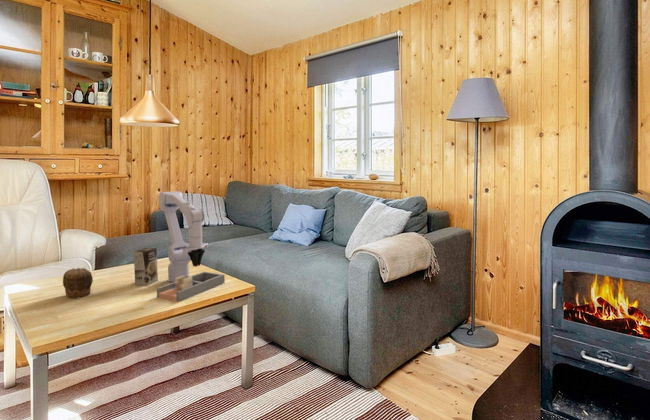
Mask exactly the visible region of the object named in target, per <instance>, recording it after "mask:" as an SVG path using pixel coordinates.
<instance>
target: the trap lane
mask: <svg viewBox="0 0 650 420" xmlns="http://www.w3.org/2000/svg"><path fill="white" fill-rule="evenodd" d="M189 276H190V277H192V282H193V286H191V287H188V288H186V289H183V290H176V284H175V282H171V283H167V284H165V285H162V286H159V287H157V288H156V298H159V299H162V300H163V299H164V300H169V301H174V302H178V303H179V302H182V301H184V300H187V299H189V298H192V297H194V296H196V295H199V294H201V293H204V292H206V291H208V290H211V289H213V288H215V287H218V286H220V285H221V286H222V285H223V284H225V283H226V282H225V281H226V280H225V274H222V273H215V272H210V271H202V272H199V273H195V274H193V275H189Z"/></svg>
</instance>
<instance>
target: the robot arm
mask: <svg viewBox="0 0 650 420" xmlns="http://www.w3.org/2000/svg"><path fill="white" fill-rule="evenodd" d="M158 203H159V207H160V210H161V211H163V212H164V216H165V220H166V223H167V227H168V231H169V235H170V239H171V243H172V244H171V245H170V246H169V247H168V249H167V252H168V253H167V255H168V261H169V262H170V263H169V264H168V267H167V274H168V276H167V277H168V279H167V282H171V283H173V282H175V278H178V277H181V276H190V264H189V263H190V262H191V265H192V266H193V267H199V266H201V262H202V259H203V255H204V254H205V252H206V250H205V249H206V248H209V243H208V242H203V225H202V224H203V221H204V219H205V214H204V211H203V210H202V209H201V208H199V209H197V207H195V206H194V205H193V204H191V202H190V201H186V200H185V199H184V197H183V193H182V192H181V191H180V190H177V191H176V190H175V191H160V192H159V195H158ZM177 210H179V211H180V212H181V214H183V216H185V221H186V223H187V224H186V226H187V227H188V242H185V241H184V239H183V236H182V232H181V228H180V225H179V220H178V217H177V214H176V211H177Z"/></svg>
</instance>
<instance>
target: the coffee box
mask: <svg viewBox="0 0 650 420" xmlns="http://www.w3.org/2000/svg"><path fill="white" fill-rule="evenodd" d="M157 251H158V250H157V247H144V248H140V249H137V250H134V251H133V263H134V265H133V267H134V285H135V286H146V287H147V286H149V285H151V284H153V283H156V282H158V281H159V275H158V273H159V272H158V252H157Z"/></svg>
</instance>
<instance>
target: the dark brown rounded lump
mask: <svg viewBox="0 0 650 420" xmlns="http://www.w3.org/2000/svg"><path fill="white" fill-rule="evenodd" d="M93 282H94V278H93V275H92V272H91V271H90V270H88V269H86V268H85V267H83V268H82V267H81V268H80V267H77V268H71V269H67V271H65V272H64V274H63V277H62V286H63V288H64V290H65V291H64V292H65V295H66V296H67V298H68V297H69V298H70V297H71V298H70V299H78V298H77V297H80V298H85V297H87V296H89V295H91V294H90V293H91V288H92V284H93ZM84 296H85V297H84Z"/></svg>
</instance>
